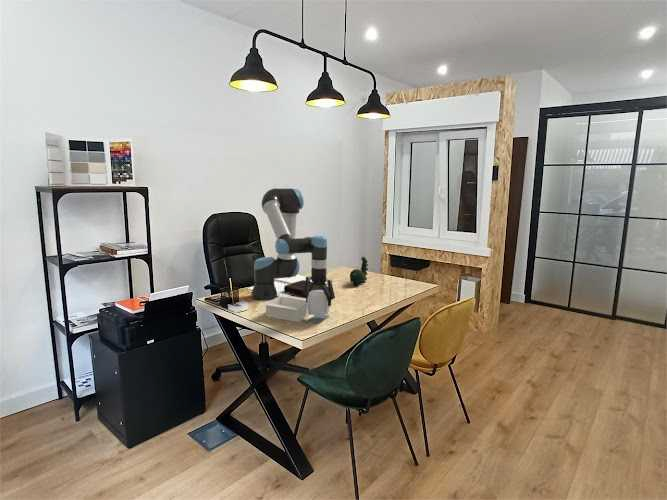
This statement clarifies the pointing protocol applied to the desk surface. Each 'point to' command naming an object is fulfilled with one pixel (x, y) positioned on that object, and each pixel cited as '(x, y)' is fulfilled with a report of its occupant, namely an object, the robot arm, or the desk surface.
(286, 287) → the diary
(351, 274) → the toy figurine
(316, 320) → the mat
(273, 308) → the carton
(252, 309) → the desk surface
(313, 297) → the photo printer
